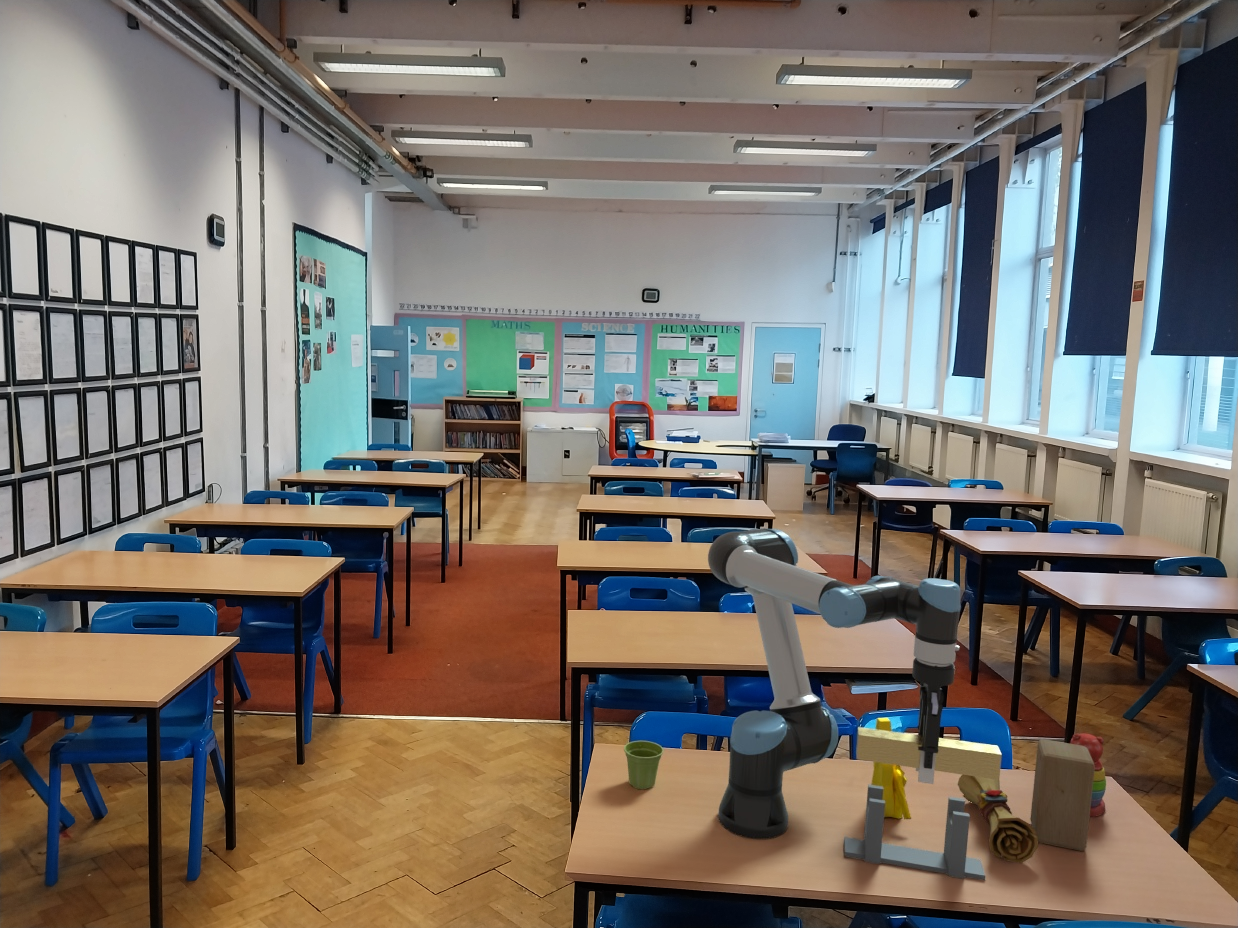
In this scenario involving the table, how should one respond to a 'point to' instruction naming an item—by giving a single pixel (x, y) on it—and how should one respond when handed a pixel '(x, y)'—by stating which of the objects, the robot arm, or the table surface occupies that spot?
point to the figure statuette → (891, 782)
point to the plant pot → (642, 763)
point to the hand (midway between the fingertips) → (924, 776)
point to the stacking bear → (1099, 773)
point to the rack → (945, 862)
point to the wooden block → (1062, 794)
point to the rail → (948, 759)
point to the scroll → (1000, 819)
